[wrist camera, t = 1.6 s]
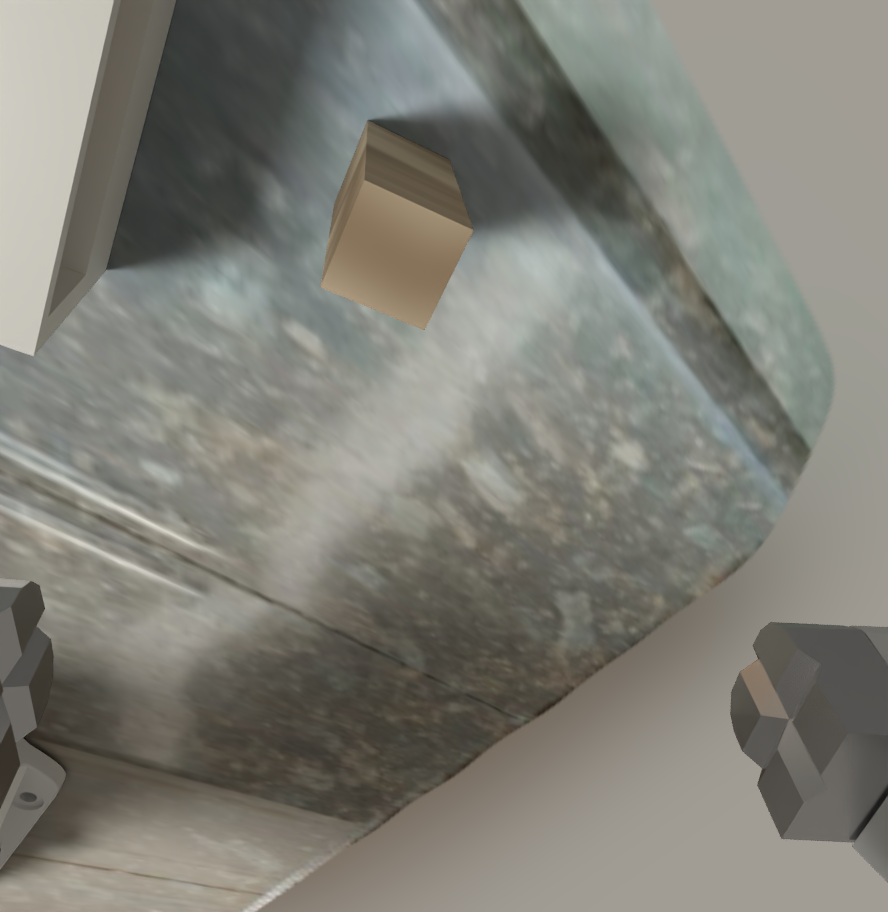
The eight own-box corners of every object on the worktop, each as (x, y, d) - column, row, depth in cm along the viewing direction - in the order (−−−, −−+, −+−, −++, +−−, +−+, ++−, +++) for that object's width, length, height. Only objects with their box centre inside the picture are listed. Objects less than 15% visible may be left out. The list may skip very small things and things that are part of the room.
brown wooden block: (413, 239, 28) (424, 330, 21) (334, 204, 27) (320, 287, 21) (449, 159, 27) (473, 230, 20) (367, 120, 26) (364, 180, 19)
